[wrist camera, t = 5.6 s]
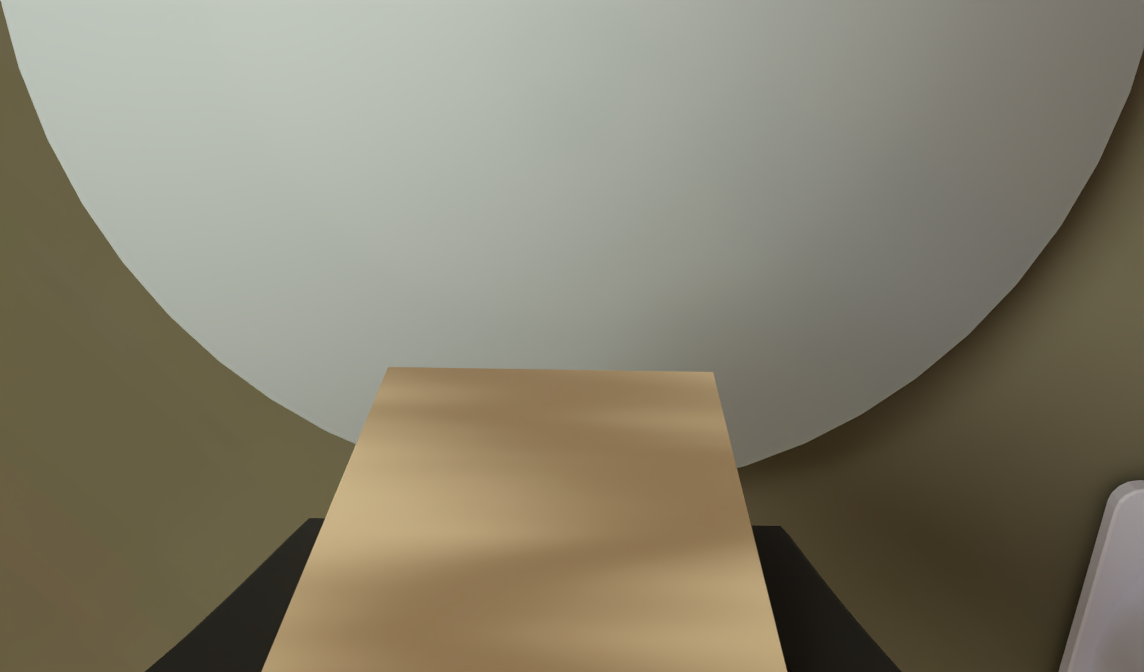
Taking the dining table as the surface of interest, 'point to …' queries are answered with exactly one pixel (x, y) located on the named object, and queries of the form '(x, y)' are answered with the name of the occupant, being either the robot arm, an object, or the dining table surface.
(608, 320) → the dish
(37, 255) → the dining table surface
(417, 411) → the block
